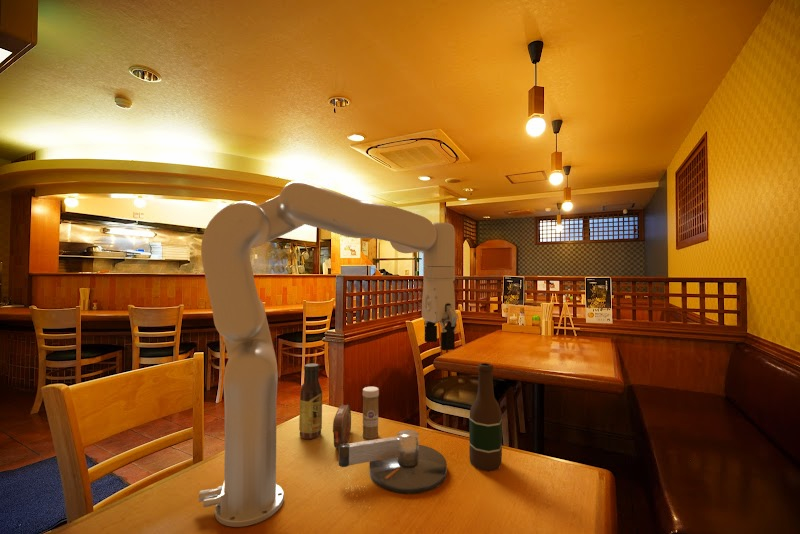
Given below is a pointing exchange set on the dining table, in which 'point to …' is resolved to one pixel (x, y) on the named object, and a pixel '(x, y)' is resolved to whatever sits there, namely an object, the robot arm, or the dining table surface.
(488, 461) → the beer bottle
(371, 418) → the sprinkles bottle
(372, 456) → the dial lever
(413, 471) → the dial plate
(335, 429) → the tin
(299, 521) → the dining table surface
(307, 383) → the sauce bottle
